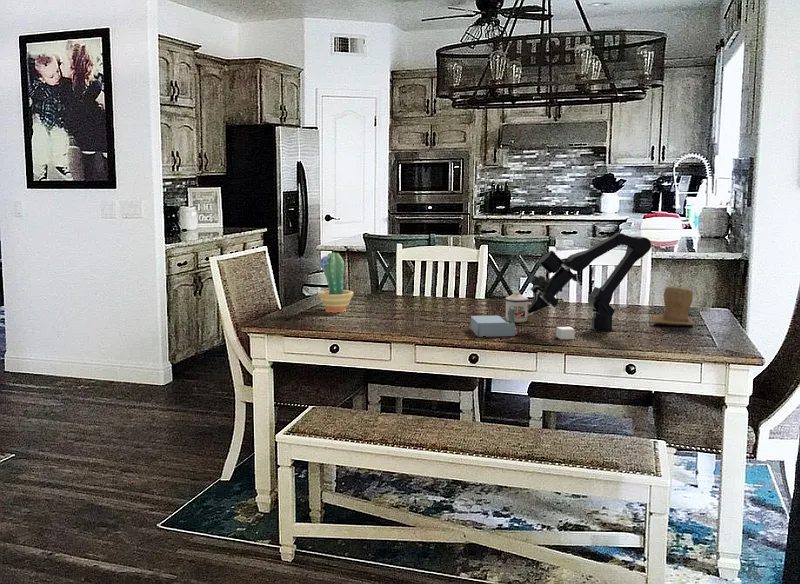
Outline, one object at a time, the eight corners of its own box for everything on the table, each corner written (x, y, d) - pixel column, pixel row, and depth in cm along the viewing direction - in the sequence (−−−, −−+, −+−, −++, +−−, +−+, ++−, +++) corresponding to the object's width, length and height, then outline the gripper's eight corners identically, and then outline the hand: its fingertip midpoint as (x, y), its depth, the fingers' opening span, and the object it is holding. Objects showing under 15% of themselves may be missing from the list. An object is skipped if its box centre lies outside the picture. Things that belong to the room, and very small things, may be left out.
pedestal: (569, 336, 283) (570, 326, 282) (574, 339, 278) (574, 329, 277) (556, 336, 282) (556, 326, 282) (560, 339, 277) (560, 329, 277)
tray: (508, 327, 297) (508, 305, 295) (516, 334, 284) (517, 311, 282) (472, 327, 295) (473, 305, 294) (479, 335, 282) (480, 311, 281)
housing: (505, 328, 297) (506, 315, 296) (514, 335, 283) (515, 322, 282) (470, 329, 296) (470, 316, 295) (477, 336, 282) (478, 323, 281)
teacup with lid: (504, 322, 309) (505, 293, 307) (504, 318, 318) (505, 289, 316) (535, 323, 307) (536, 293, 306) (534, 318, 316) (535, 290, 314)
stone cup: (692, 322, 308) (694, 285, 305) (694, 328, 296) (696, 289, 294) (651, 320, 312) (653, 283, 310) (652, 326, 301) (654, 287, 298)
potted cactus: (321, 307, 344) (320, 250, 340) (356, 308, 342) (355, 251, 338) (314, 313, 328) (313, 254, 325) (350, 314, 327) (350, 254, 323)
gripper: (535, 264, 297) (507, 294, 297) (549, 270, 278) (519, 302, 279) (556, 284, 299) (527, 313, 299) (571, 291, 280) (540, 322, 281)
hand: (528, 312), depth 290 cm, fingers closed
